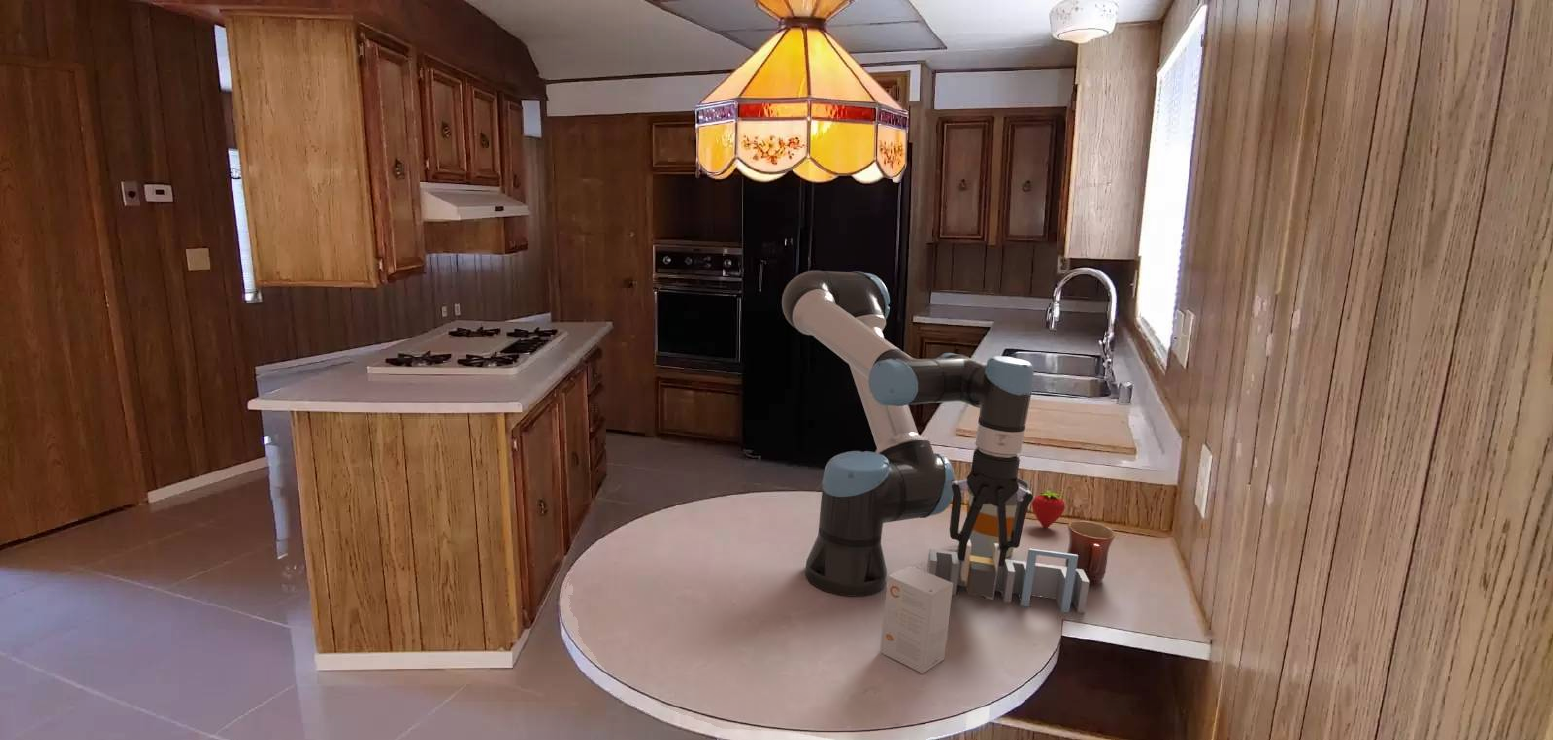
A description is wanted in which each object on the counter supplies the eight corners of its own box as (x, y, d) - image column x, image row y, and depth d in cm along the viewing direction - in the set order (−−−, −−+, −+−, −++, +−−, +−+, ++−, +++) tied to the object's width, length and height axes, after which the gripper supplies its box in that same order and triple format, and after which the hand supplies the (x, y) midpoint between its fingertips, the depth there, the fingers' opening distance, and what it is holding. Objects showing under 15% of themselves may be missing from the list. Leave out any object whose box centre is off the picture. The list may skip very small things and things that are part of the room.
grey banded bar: (967, 593, 133) (971, 568, 132) (960, 554, 148) (963, 530, 147) (992, 597, 132) (996, 572, 131) (982, 557, 148) (986, 534, 147)
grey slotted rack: (926, 590, 146) (930, 560, 145) (925, 578, 152) (929, 548, 150) (1084, 613, 143) (1089, 582, 142) (1078, 599, 148) (1083, 569, 147)
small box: (944, 660, 124) (955, 582, 121) (922, 675, 119) (932, 595, 117) (901, 638, 129) (910, 564, 127) (878, 652, 125) (887, 575, 122)
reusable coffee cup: (1025, 566, 161) (1035, 495, 158) (962, 557, 162) (971, 487, 159) (1016, 541, 173) (1026, 475, 170) (958, 533, 175) (966, 468, 172)
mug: (1057, 565, 162) (1064, 518, 160) (1102, 572, 161) (1110, 524, 159) (1066, 592, 151) (1074, 541, 149) (1114, 599, 149) (1123, 548, 147)
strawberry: (1023, 522, 184) (1029, 481, 182) (1053, 522, 186) (1059, 481, 184) (1035, 532, 179) (1042, 490, 177) (1066, 532, 180) (1073, 490, 178)
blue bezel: (1020, 605, 144) (1029, 549, 142) (1020, 604, 144) (1028, 548, 142) (1069, 612, 143) (1078, 556, 140) (1068, 610, 143) (1077, 554, 141)
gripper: (946, 450, 130) (927, 581, 135) (1055, 464, 128) (1031, 597, 133) (944, 437, 137) (926, 562, 142) (1046, 450, 135) (1025, 577, 140)
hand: (977, 579), depth 137 cm, fingers closed on grey banded bar, 4 cm apart
